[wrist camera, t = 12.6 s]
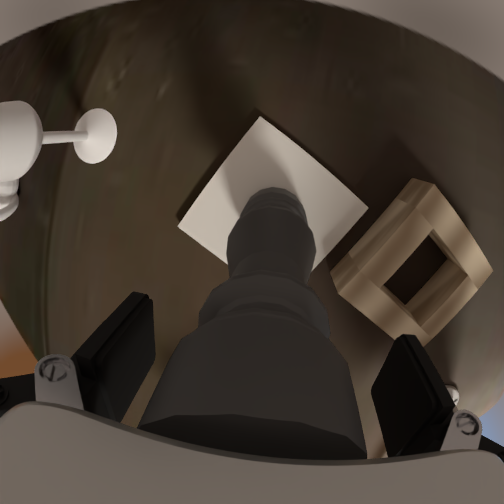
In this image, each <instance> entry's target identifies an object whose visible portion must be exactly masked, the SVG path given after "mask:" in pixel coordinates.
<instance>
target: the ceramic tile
mask: <svg viewBox="0 0 504 504" xmlns="http://www.w3.org/2000/svg"><path fill="white" fill-rule="evenodd" d="M270 187H277V188H283V189H286V190H288V191H289V192H291V193H292V194H294V195H296V197H297V198H298V200H299V201H300V202H301V204H302V205H303V208H304V210H305V213H306V217H307V222H308V226H309V228H310V229H311V230H312V232H313V236H314V241H315V246H316V255H315V260H314V264H313V268H312V271H313V269H314V268H315V267H316V266H317V265H318V264H319V263H320V262H321V261H322V260H323V259H324V258H325V257H326V255H327V254H328V253H329V252H330V251H331V250H332V249H333V248H334V247H335V246H336V244H337V243H338V242H339V241H340V240H341V239H342V238H343V237H344V236H345V234H346V233H347V232H348V231H349V230H350V229H351V228H352V227H353V225H354V224H355V223H356V222H357V221H358V220H359V219H360V217H361V216H362V215H363V214H364V213H365V212H366V211H367V209H368V207H367V206H366V205H365V204H364V203H363V202H362V201H361V200H360V199H359V198H358V197H357V196H356V195H354V194H353V193H352V192H351V191H350V190H349V189H348V188H347V187H346V186H345V185H344V184H342V183H341V182H340V181H339V180H338V179H337V178H336V177H335V176H334V175H332V174H331V173H330V172H329V171H328V170H327V169H326V168H324V167H323V166H322V165H321V164H320V163H319V162H317V161H316V160H315V159H314V158H313V157H311V156H310V155H309V154H308V153H307V152H305V151H304V150H303V149H302V148H300V147H299V146H298V145H297V144H296V143H294V142H293V141H292V140H290V139H289V138H288V137H287V136H285V135H284V134H283V133H282V132H280V131H279V130H278V129H276V128H275V127H274V126H272V125H271V124H270V123H268V122H267V121H266V120H264V119H263V118H262V117H259V118H258V119H257V121H256V122H255V123H254V124H253V126H252V127H251V128H250V129H249V131H248V132H247V133H246V134H245V136H244V137H243V138H242V139H241V141H240V142H239V143H238V144H237V146H236V147H235V148H234V149H233V151H232V152H231V153H230V155H229V156H228V157H227V159H226V160H225V161H224V162H223V164H222V165H221V166H220V168H219V169H218V170H217V172H216V173H215V174H214V176H213V177H212V178H211V180H210V181H209V183H208V184H207V185H206V187H205V188H204V189H203V191H202V192H201V194H200V195H199V196H198V198H197V199H196V201H195V202H194V203H193V205H192V206H191V208H190V209H189V210H188V212H187V213H186V215H185V216H184V218H183V219H182V221H181V222H180V223H179V225H178V227H179V228H180V229H181V230H183V231H184V232H185V233H187V234H188V235H189V236H191V237H192V238H193V239H195V240H196V241H197V242H199V243H200V244H201V245H203V246H204V247H205V248H207V249H208V250H209V251H210V252H212V253H213V254H214V255H216V256H217V257H219V258H220V259H221V260H223V261H224V262H225V263H227V264H228V262H227V256H226V250H227V241H228V236H229V234H230V232H231V231H232V229H233V227H234V225H235V224H236V222H237V220H238V219H239V218H240V214H241V212H242V210H243V209H244V207H245V205H246V204H247V202H248V200H249V199H250V197H251V196H252V195H254V194H255V193H257V192H258V191H259V190H261V189H266V188H270ZM312 271H311V272H312Z"/></svg>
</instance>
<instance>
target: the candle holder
mask: <svg viewBox="0 0 504 504" xmlns="http://www.w3.org/2000/svg"><path fill="white" fill-rule="evenodd" d="M315 255H316V246H315V241H314V236H313V232H312V230H311V229H310V228H309V226H308V222H307V217H306V213H305V210H304V208H303V205H302V204H301V202H300V201H299V200H298V198H297V197H296V195H294V194H292V193H291V192H289V191H288V190H286V189H283V188H277V187H270V188H266V189H261V190H259V191H258V192H257V193H255V194H254V195H252V196H251V197H250V199H249V200H248V202H247V204H246V205H245V207H244V209H243V210H242V212H241V214H240V218H239V219H238V220H237V222H236V224H235V225H234V227H233V229H232V231H231V232H230V234H229V236H228V241H227V250H226V256H227V262H228V269H229V276H230V278H229V279H228V280H226V281H225V282H223V283H222V284H220V285H219V286H217V287H216V288H214V289H213V290H212V292H211V293H210V295H209V297H208V298H207V300H206V302H205V303H204V305H203V307H202V308H201V310H200V312H199V325H198V328H197V329H196V330H195V331H194V332H192V333H190V334H189V335H187V336H185V337H184V338H182V339H181V340H180V342H179V344H178V346H177V347H176V349H175V351H174V353H173V354H172V356H171V358H170V360H169V361H168V363H167V366H166V368H165V370H164V372H163V374H162V376H161V378H160V380H159V382H158V384H157V386H156V388H155V391H154V393H153V395H152V397H151V399H150V401H149V403H148V405H147V407H146V410H145V412H144V414H143V416H142V418H141V420H140V423H139V425H138V427H137V429H140V430H143V431H146V432H150V433H153V434H156V435H160V436H163V437H167V438H171V439H174V440H178V441H182V442H186V443H190V444H195V445H199V446H204V447H209V448H214V449H219V450H224V451H230V452H236V453H243V454H250V455H258V456H266V457H276V458H288V459H305V460H361V459H367V450H366V445H365V440H364V434H363V430H362V425H361V420H360V415H359V411H358V406H357V402H356V397H355V393H354V388H353V384H352V380H351V376H350V372H349V368H348V364H347V362H346V361H345V359H344V358H343V357H342V355H341V354H340V353H339V351H338V350H337V349H336V348H335V346H334V345H333V344H332V342H331V341H330V340H329V336H330V327H329V321H328V314H327V309H326V307H325V306H324V304H323V303H322V302H321V300H320V299H319V297H318V296H317V295H316V293H315V292H314V291H313V289H312V288H311V287H310V286H308V285H307V283H308V280H309V277H310V274H311V271H312V268H313V264H314V260H315Z"/></svg>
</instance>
